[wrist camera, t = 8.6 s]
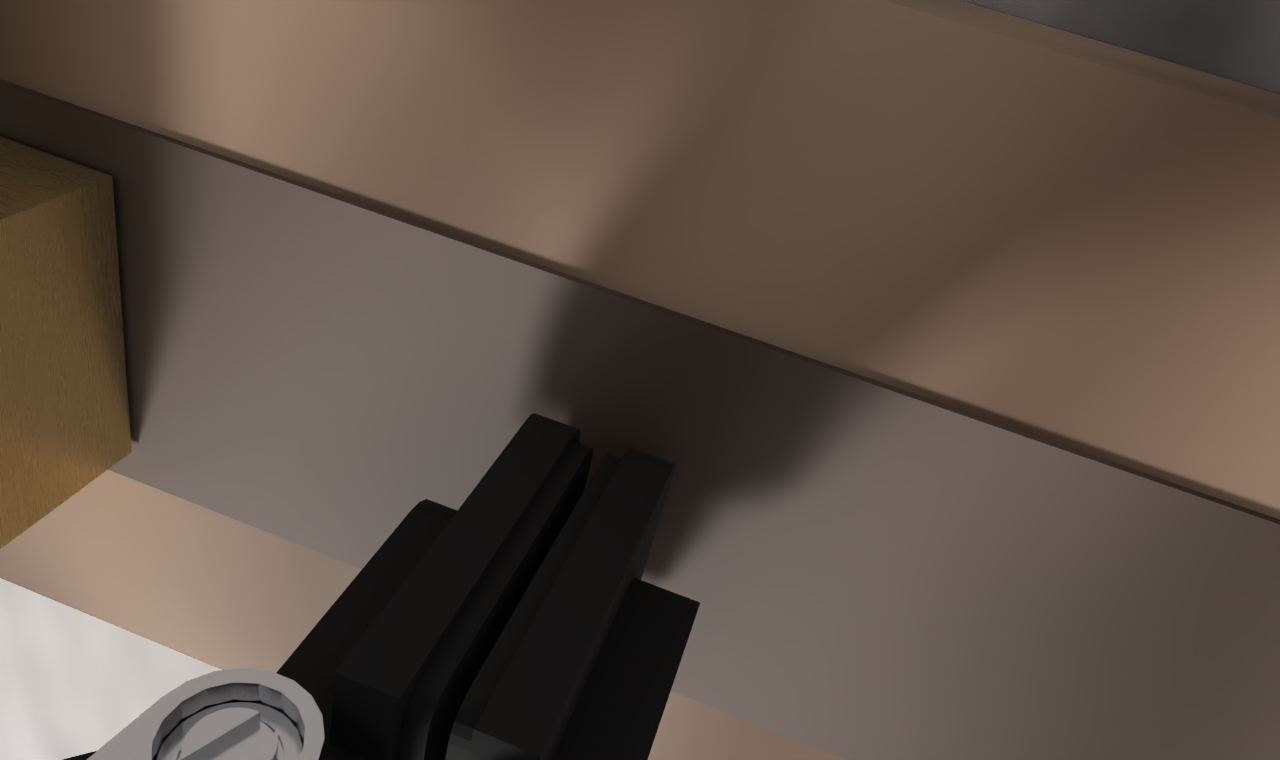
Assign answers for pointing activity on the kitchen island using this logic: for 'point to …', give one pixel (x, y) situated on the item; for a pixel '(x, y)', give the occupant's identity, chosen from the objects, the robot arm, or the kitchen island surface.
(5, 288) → the bolt
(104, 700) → the kitchen island surface
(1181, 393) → the door panel
